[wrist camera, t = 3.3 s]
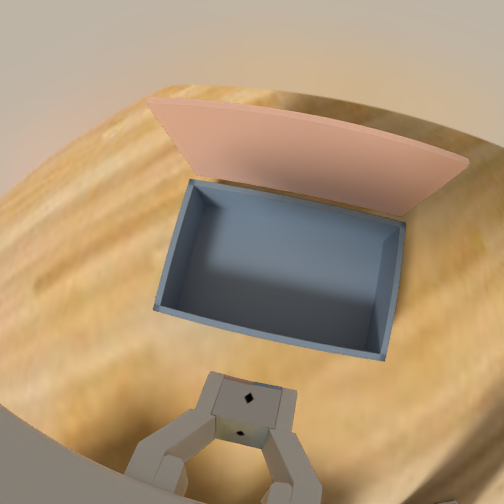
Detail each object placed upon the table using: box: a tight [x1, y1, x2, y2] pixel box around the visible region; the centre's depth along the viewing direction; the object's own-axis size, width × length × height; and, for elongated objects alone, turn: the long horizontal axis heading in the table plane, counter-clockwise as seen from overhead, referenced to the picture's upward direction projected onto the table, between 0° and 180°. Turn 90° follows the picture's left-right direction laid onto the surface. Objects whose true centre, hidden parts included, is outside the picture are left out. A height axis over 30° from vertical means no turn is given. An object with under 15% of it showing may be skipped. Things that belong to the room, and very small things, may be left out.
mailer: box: [153, 179, 406, 361], centre depth 26 cm, size 18×11×5 cm, turn 77°
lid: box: [146, 97, 470, 217], centre depth 19 cm, size 17×11×1 cm
